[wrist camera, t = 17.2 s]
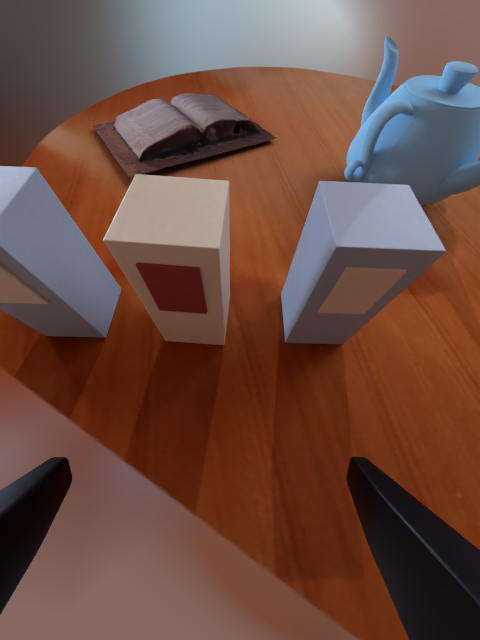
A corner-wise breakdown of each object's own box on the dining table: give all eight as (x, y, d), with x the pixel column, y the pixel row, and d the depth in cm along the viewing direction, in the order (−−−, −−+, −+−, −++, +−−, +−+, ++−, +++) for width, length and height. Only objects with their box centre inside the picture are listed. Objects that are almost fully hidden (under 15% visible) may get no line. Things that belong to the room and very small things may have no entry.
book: (277, 143, 43) (281, 112, 39) (130, 182, 35) (117, 148, 31) (223, 110, 52) (222, 82, 48) (95, 135, 44) (82, 103, 40)
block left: (105, 339, 23) (-17, 236, 12) (44, 338, 23) (-141, 231, 11) (121, 289, 26) (36, 167, 15) (67, 287, 26) (-61, 162, 14)
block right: (343, 346, 24) (448, 254, 12) (285, 344, 23) (336, 249, 12) (332, 296, 27) (409, 184, 15) (280, 294, 26) (319, 180, 15)
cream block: (224, 347, 23) (218, 251, 12) (165, 343, 23) (100, 243, 12) (229, 296, 26) (229, 180, 15) (176, 292, 26) (135, 173, 15)
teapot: (342, 152, 42) (387, 32, 30) (455, 184, 39) (560, 61, 26) (315, 201, 35) (360, 69, 23) (451, 245, 31) (593, 117, 19)
